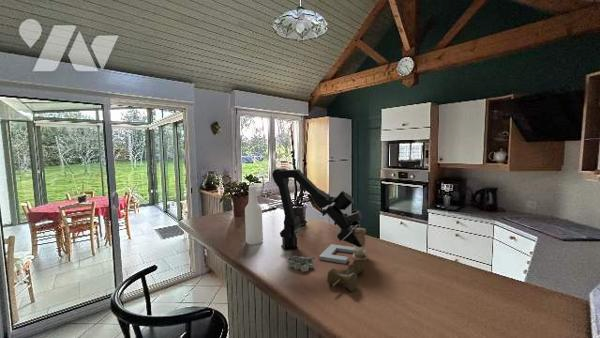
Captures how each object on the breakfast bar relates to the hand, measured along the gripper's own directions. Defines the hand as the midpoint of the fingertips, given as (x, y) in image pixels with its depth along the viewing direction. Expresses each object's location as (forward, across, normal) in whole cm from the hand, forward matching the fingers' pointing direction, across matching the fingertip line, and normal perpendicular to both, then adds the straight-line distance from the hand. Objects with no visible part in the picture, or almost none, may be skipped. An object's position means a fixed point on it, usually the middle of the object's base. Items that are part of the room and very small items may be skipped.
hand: (362, 243), depth 117 cm
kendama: (+5, -23, +6) cm, 24 cm away
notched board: (-3, 0, +13) cm, 13 cm away
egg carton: (-11, -17, +21) cm, 29 cm away
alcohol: (-36, 0, +45) cm, 57 cm away
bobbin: (+4, 0, +6) cm, 7 cm away
